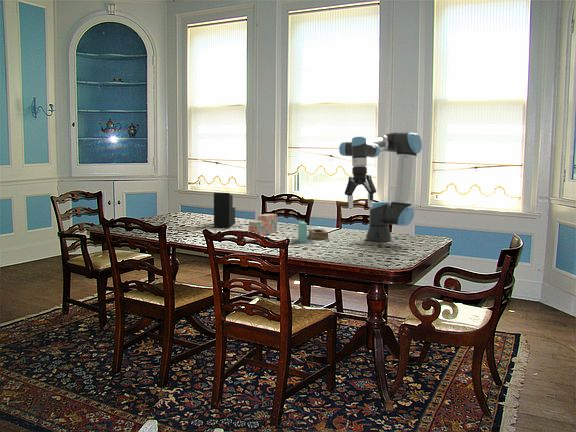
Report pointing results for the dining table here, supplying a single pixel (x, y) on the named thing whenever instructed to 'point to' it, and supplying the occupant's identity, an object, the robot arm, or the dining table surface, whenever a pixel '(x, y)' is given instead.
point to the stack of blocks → (264, 224)
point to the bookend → (223, 210)
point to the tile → (302, 232)
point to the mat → (302, 243)
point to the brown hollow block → (318, 234)
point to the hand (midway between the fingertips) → (360, 207)
